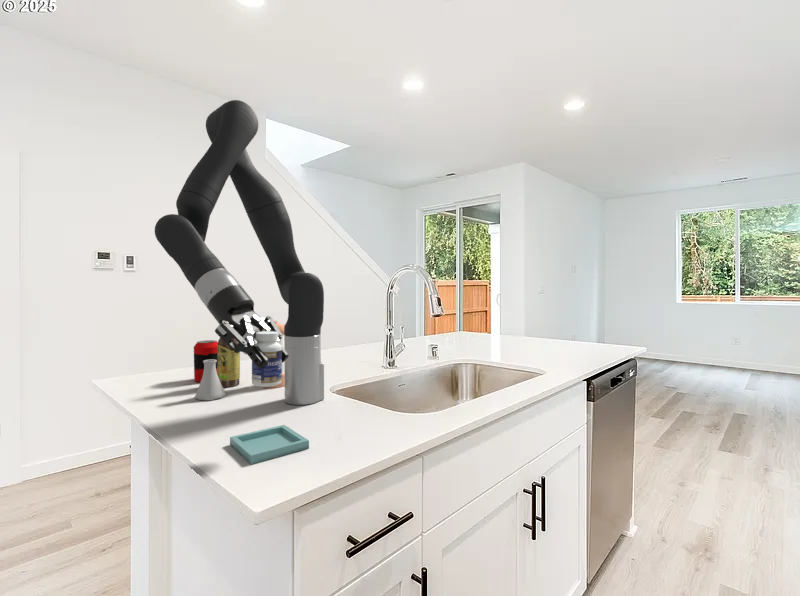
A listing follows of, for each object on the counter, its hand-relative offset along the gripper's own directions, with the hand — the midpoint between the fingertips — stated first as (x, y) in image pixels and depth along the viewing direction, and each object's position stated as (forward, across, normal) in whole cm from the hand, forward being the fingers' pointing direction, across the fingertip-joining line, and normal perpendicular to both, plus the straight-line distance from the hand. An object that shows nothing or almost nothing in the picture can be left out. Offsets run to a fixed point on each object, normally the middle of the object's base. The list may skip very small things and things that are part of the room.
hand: (275, 362), depth 80 cm
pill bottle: (+2, 0, +4) cm, 5 cm away
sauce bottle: (-18, +34, +41) cm, 56 cm away
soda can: (-26, +37, +49) cm, 67 cm away
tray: (+10, 0, +13) cm, 16 cm away
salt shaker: (-9, +40, +33) cm, 52 cm away
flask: (-15, +22, +38) cm, 46 cm away
